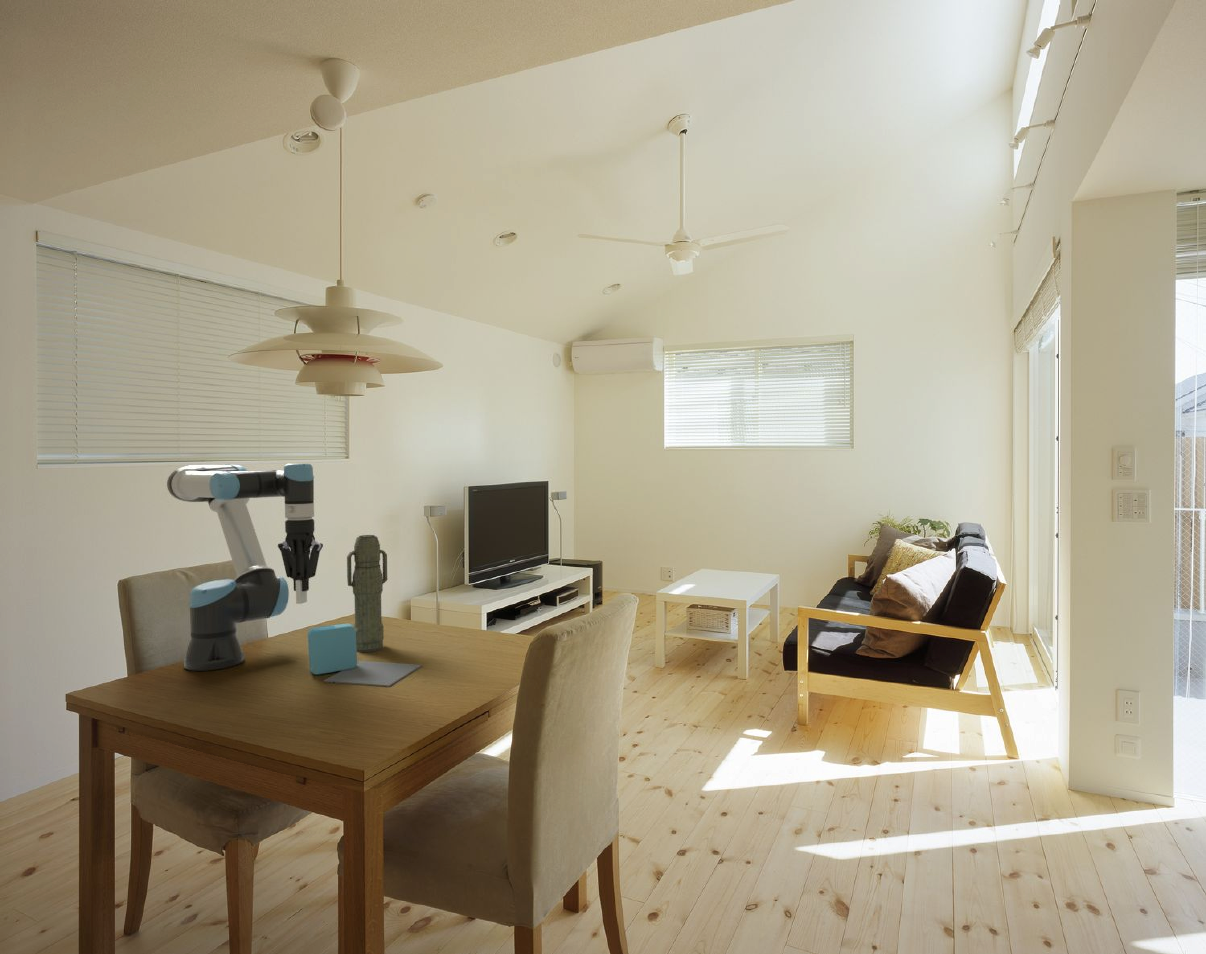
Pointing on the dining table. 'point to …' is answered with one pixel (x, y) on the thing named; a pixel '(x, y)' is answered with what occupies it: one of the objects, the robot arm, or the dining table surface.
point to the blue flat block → (332, 648)
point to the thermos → (367, 592)
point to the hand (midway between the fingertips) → (301, 602)
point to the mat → (374, 673)
